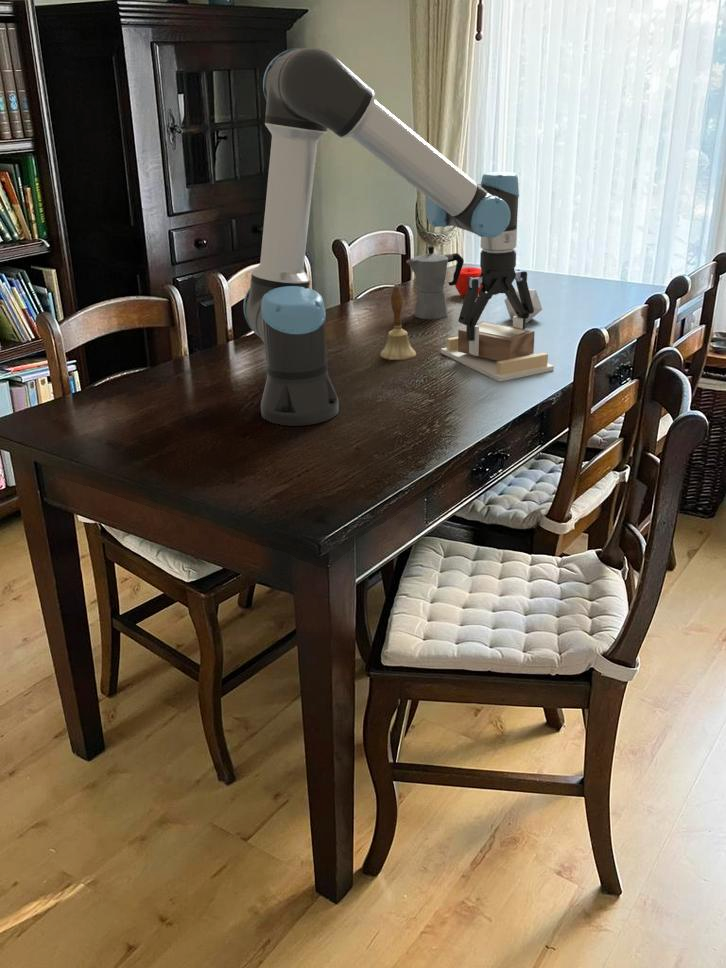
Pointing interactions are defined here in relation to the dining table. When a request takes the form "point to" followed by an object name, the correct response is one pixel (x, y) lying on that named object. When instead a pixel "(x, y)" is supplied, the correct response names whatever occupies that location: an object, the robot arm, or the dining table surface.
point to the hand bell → (397, 333)
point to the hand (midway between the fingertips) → (495, 350)
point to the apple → (463, 279)
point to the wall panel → (499, 363)
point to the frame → (499, 341)
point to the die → (510, 309)
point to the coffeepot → (433, 282)
